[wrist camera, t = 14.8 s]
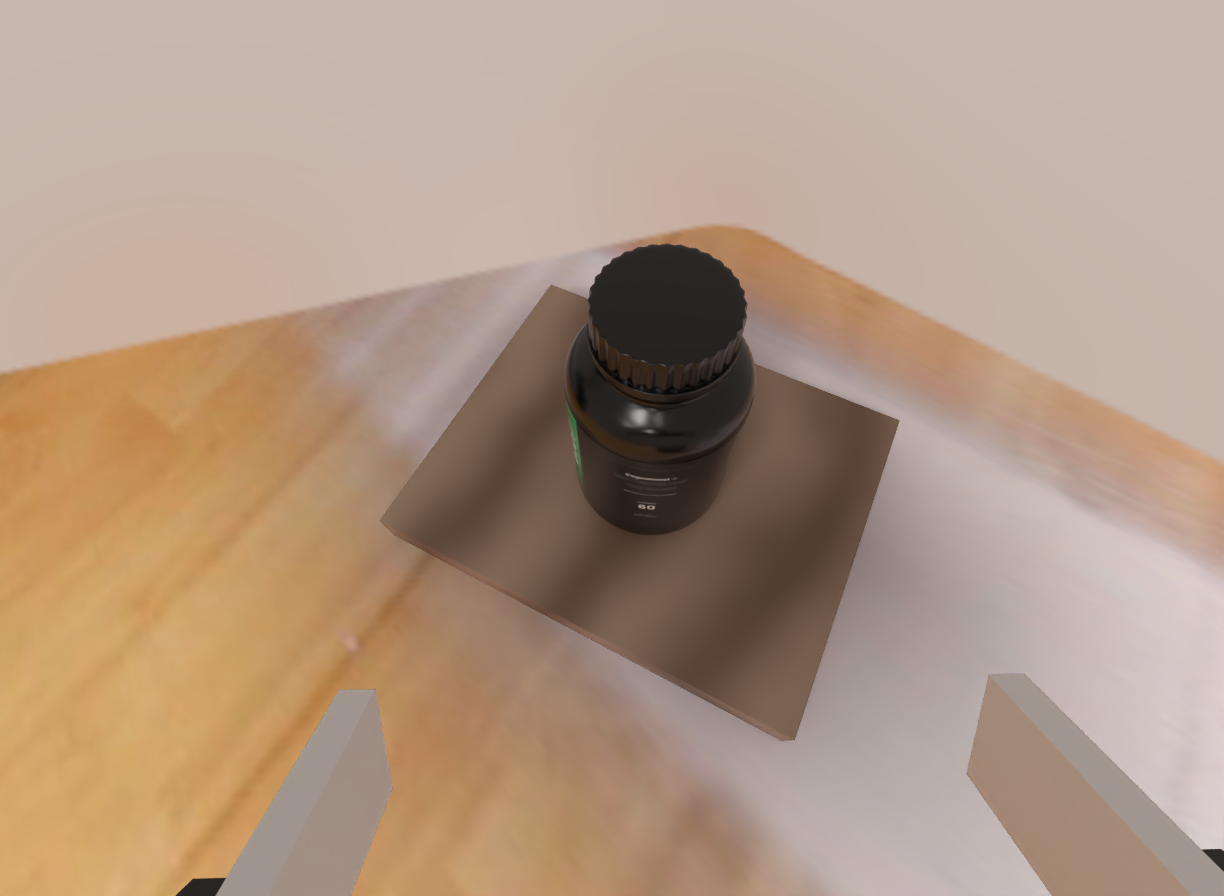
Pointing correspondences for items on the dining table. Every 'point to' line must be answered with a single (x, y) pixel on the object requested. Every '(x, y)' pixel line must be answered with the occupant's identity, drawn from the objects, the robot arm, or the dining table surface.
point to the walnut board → (658, 564)
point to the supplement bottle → (658, 387)
